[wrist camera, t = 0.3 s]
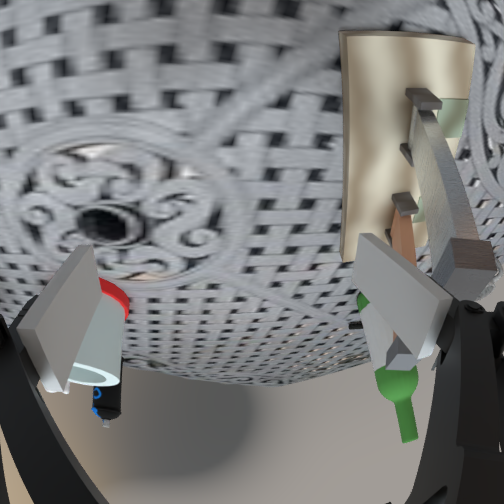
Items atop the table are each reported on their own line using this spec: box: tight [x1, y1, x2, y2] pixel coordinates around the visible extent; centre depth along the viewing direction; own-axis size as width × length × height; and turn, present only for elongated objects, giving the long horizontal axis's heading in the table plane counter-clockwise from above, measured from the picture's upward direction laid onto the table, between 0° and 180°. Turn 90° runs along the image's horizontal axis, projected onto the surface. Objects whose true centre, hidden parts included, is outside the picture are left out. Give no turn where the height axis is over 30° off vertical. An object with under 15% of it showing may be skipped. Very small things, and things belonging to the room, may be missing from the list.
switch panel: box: [339, 31, 476, 262], centre depth 31 cm, size 14×32×5 cm, turn 11°
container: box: [67, 278, 130, 386], centre depth 46 cm, size 16×16×15 cm
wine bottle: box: [357, 293, 418, 443], centre depth 49 cm, size 8×8×30 cm
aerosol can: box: [92, 357, 124, 427], centre depth 70 cm, size 8×8×20 cm
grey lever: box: [407, 103, 497, 301], centre depth 21 cm, size 3×6×19 cm, turn 10°
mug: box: [474, 257, 503, 302], centre depth 53 cm, size 10×7×7 cm, turn 143°
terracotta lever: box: [385, 208, 422, 371], centre depth 32 cm, size 3×6×19 cm, turn 10°
